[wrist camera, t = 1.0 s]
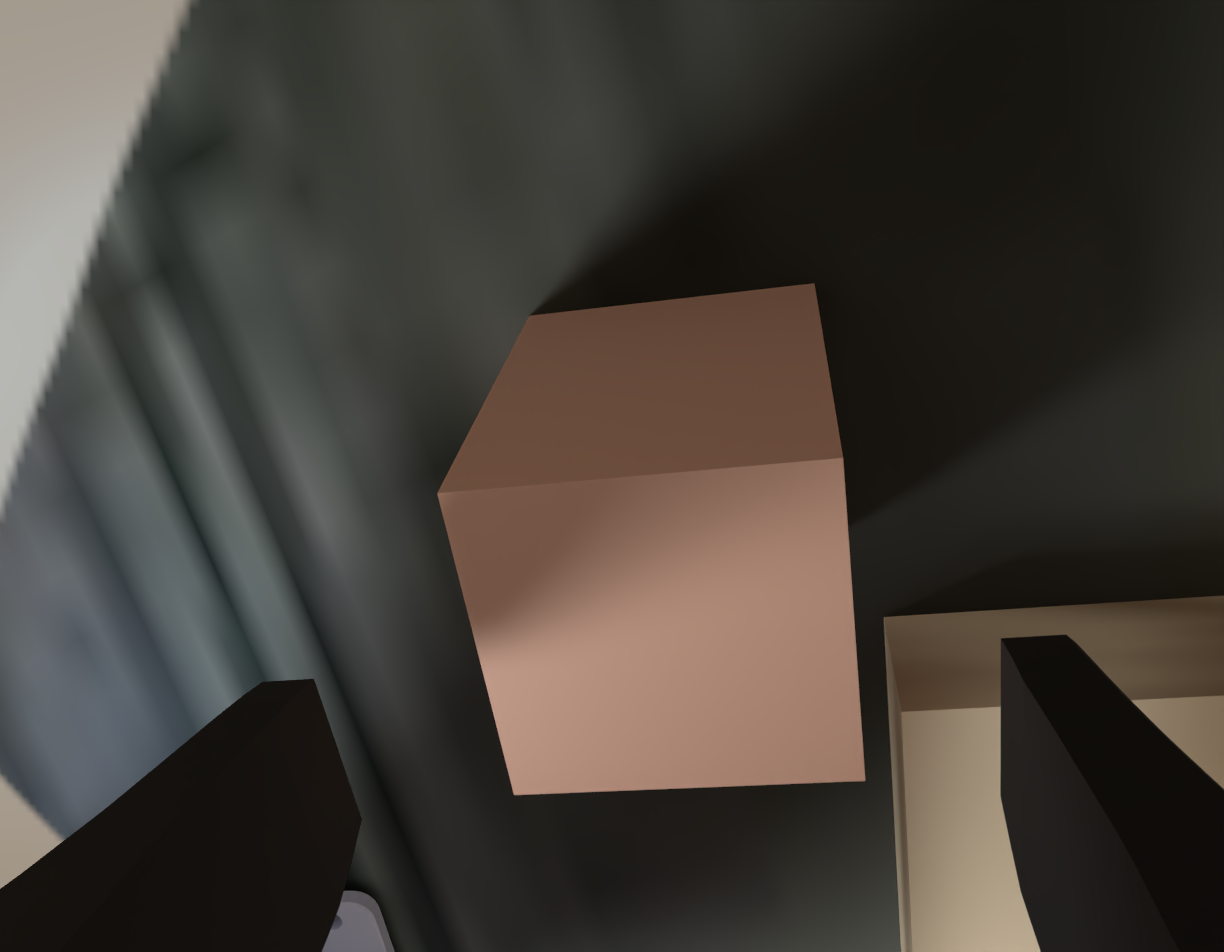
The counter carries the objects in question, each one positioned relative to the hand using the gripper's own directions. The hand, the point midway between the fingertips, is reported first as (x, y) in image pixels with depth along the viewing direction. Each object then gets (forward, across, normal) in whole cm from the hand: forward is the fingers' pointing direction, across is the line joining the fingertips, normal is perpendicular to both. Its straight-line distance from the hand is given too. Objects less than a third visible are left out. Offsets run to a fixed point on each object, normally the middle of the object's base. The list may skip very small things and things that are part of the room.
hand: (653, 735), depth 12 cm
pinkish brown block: (+8, 0, 0) cm, 8 cm away
